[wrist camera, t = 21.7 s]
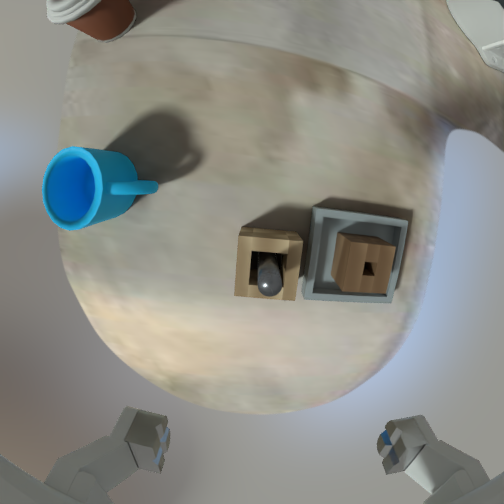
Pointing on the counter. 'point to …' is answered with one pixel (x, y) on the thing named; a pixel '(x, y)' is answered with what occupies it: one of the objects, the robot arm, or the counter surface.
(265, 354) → the counter surface
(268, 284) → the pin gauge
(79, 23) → the coffee cup
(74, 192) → the mug
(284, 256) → the block
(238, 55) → the counter surface
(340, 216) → the tray
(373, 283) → the block
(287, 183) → the counter surface
